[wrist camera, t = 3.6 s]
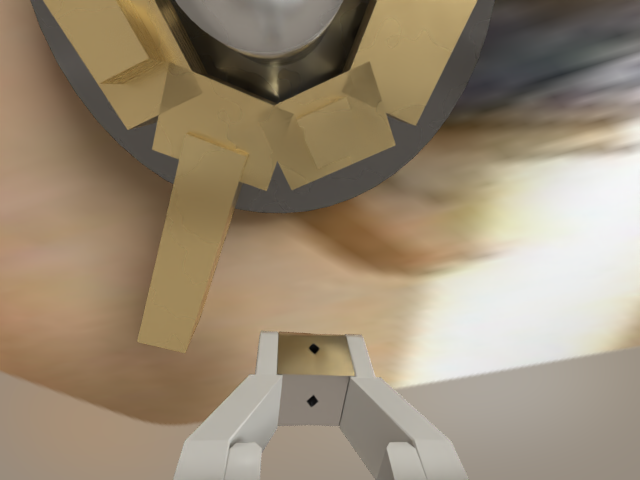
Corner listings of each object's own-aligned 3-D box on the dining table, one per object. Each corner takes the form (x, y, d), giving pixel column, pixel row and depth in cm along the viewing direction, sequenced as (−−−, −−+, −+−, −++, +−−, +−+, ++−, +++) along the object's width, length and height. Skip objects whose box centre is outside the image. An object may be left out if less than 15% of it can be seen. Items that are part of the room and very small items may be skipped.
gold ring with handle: (104, -430, 7) (-18, -759, 5) (519, -135, 10) (610, -227, 7) (44, 277, 15) (-17, 323, 12) (294, 342, 17) (294, 393, 14)
